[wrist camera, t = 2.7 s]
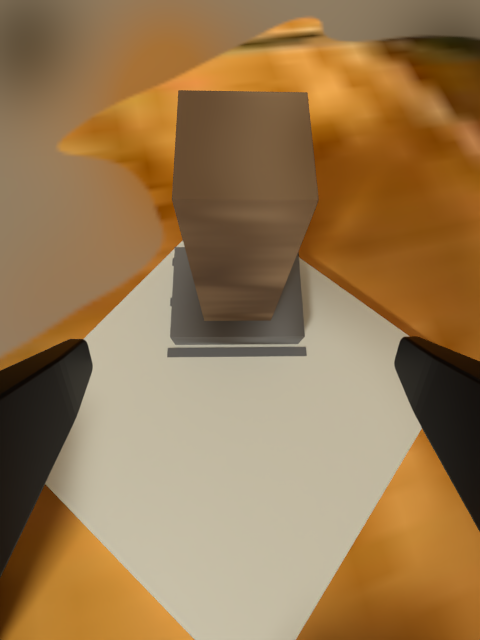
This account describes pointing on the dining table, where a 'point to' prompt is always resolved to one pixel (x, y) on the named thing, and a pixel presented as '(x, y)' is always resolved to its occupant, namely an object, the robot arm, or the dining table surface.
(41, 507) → the dining table surface
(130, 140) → the dining table surface
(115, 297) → the dining table surface
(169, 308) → the board
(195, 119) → the block
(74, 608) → the dining table surface
